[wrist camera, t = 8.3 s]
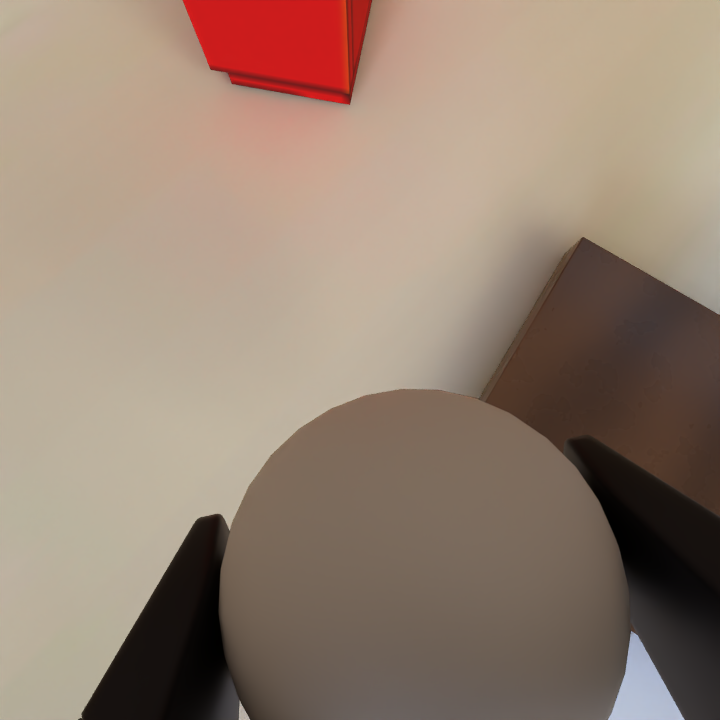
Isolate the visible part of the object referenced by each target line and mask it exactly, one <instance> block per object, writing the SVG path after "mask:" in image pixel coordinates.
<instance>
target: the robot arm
mask: <svg viewBox="0 0 720 720" xmlns="http://www.w3.org/2000/svg"><path fill="white" fill-rule="evenodd" d="M563 455H564V456H565V457H566V458H567V459H568V460H569V461H570V462H571V463H572V464H573V465H574V466H575V467H576V468H577V469H578V471H579V472H580V474H581V475H582V477H583V478H584V480H585V481H586V483H587V484H588V485H589V487H590V488H591V490H592V491H593V493H594V494H595V496H596V497H597V499H598V500H599V502H600V504H601V507H602V509H603V511H604V513H605V516H606V518H607V520H608V522H609V525H610V527H611V529H612V531H613V534H614V536H615V538H616V541H617V544H618V546H619V550H620V554H621V558H622V562H623V566H624V571H625V575H626V579H627V583H628V587H629V602H630V622H631V624H632V625H633V627H634V629H635V631H636V633H637V635H638V636H639V638H640V640H641V642H642V644H643V645H644V647H645V649H646V651H647V653H648V654H649V656H650V658H651V660H652V662H653V663H654V665H655V667H656V669H657V671H658V672H659V674H660V676H661V678H662V680H663V681H664V683H665V685H666V687H667V689H668V691H669V692H670V694H671V696H672V698H673V700H674V701H675V703H676V705H677V707H678V709H679V710H680V712H681V714H682V716H683V718H684V719H685V720H720V516H718V515H717V514H715V513H714V512H712V511H710V510H709V509H707V508H706V507H704V506H702V505H701V504H699V503H698V502H696V501H694V500H693V499H691V498H690V497H688V496H686V495H685V494H683V493H682V492H680V491H678V490H677V489H675V488H674V487H672V486H670V485H669V484H667V483H666V482H664V481H663V480H661V479H659V478H658V477H656V476H655V475H653V474H651V473H650V472H648V471H647V470H645V469H643V468H642V467H640V466H639V465H637V464H635V463H634V462H632V461H631V460H629V459H627V458H626V457H624V456H623V455H621V454H619V453H618V452H616V451H615V450H613V449H612V448H610V447H608V446H607V445H605V444H604V443H602V442H600V441H599V440H597V439H596V438H594V437H592V436H590V435H581V436H577V437H572V438H568V439H567V440H566V441H565V443H564V450H563ZM229 533H230V530H229V528H228V526H227V524H226V522H225V519H224V518H223V516H222V515H220V514H214V515H209V516H205V517H201V518H199V519H197V520H196V521H195V523H194V524H193V526H192V528H191V530H190V531H189V533H188V535H187V536H186V538H185V540H184V541H183V543H182V545H181V546H180V548H179V550H178V552H177V553H176V555H175V557H174V558H173V560H172V562H171V563H170V565H169V567H168V568H167V570H166V572H165V573H164V575H163V577H162V579H161V580H160V582H159V584H158V585H157V587H156V589H155V590H154V592H153V594H152V595H151V597H150V599H149V601H148V602H147V604H146V606H145V607H144V609H143V611H142V612H141V614H140V616H139V617H138V619H137V621H136V622H135V624H134V626H133V628H132V629H131V631H130V633H129V634H128V636H127V638H126V639H125V641H124V643H123V644H122V646H121V648H120V650H119V651H118V653H117V655H116V656H115V658H114V660H113V661H112V663H111V665H110V666H109V668H108V670H107V671H106V673H105V675H104V677H103V678H102V680H101V682H100V683H99V685H98V687H97V688H96V690H95V692H94V693H93V695H92V697H91V699H90V700H89V702H88V704H87V705H86V707H85V709H84V710H83V712H82V718H80V719H78V720H239V701H240V699H239V697H238V695H237V692H236V689H235V686H234V683H233V680H232V677H231V674H230V671H229V668H228V665H227V662H226V659H225V656H224V651H223V643H222V636H221V628H220V620H219V613H218V609H219V591H220V574H221V566H222V562H223V558H224V554H225V550H226V546H227V541H228V537H229Z"/></svg>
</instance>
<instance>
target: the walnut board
mask: <svg viewBox="0 0 720 720" xmlns="http://www.w3.org/2000/svg"><path fill="white" fill-rule="evenodd" d="M479 400H481V401H483V402H485V403H488V404H490V405H492V406H495V407H497V408H499V409H501V410H504V411H506V412H508V413H510V414H512V415H513V416H515V417H516V418H518V419H519V420H521V421H522V422H524V423H525V424H527V425H528V426H530V427H531V428H533V429H534V430H535V431H537V432H538V433H540V434H541V435H543V436H544V437H546V438H547V439H548V440H549V441H550V442H551V443H552V444H553V445H554V446H555V447H556V448H557V449H558V450H559V451H560V452H561V453H562V454H563V450H564V443H565V441H566V440H567V439H568V438H572V437H577V436H581V435H590V436H592V437H594V438H596V439H597V440H599V441H600V442H602V443H604V444H605V445H607V446H608V447H610V448H612V449H613V450H615V451H616V452H618V453H619V454H621V455H623V456H624V457H626V458H627V459H629V460H631V461H632V462H634V463H635V464H637V465H639V466H640V467H642V468H643V469H645V470H647V471H648V472H650V473H651V474H653V475H655V476H656V477H658V478H659V479H661V480H663V481H664V482H666V483H667V484H669V485H670V486H672V487H674V488H675V489H677V490H678V491H680V492H682V493H683V494H685V495H686V496H688V497H690V498H691V499H693V500H694V501H696V502H698V503H699V504H701V505H702V506H704V507H706V508H707V509H709V510H710V511H712V512H714V513H715V514H717V515H718V516H720V315H718V314H717V313H715V312H713V311H711V310H710V309H708V308H706V307H704V306H703V305H701V304H699V303H697V302H696V301H694V300H692V299H690V298H689V297H687V296H685V295H683V294H682V293H680V292H678V291H677V290H675V289H673V288H671V287H670V286H668V285H666V284H664V283H663V282H661V281H659V280H657V279H656V278H654V277H652V276H650V275H649V274H647V273H645V272H643V271H642V270H640V269H638V268H636V267H635V266H633V265H631V264H629V263H628V262H626V261H624V260H622V259H621V258H619V257H617V256H615V255H614V254H612V253H610V252H609V251H607V250H605V249H603V248H602V247H600V246H598V245H596V244H595V243H593V242H591V241H589V240H588V239H586V238H584V237H582V238H581V239H580V240H579V241H578V242H577V243H576V244H575V245H574V246H573V247H572V248H570V249H569V250H568V251H567V252H566V253H565V254H564V256H563V258H562V260H561V261H560V263H559V265H558V266H557V268H556V270H555V271H554V273H553V275H552V276H551V278H550V280H549V281H548V283H547V285H546V287H545V288H544V290H543V292H542V293H541V295H540V297H539V298H538V300H537V302H536V303H535V305H534V307H533V308H532V310H531V312H530V314H529V315H528V317H527V319H526V320H525V322H524V324H523V325H522V327H521V329H520V330H519V332H518V334H517V335H516V337H515V339H514V341H513V342H512V344H511V346H510V347H509V349H508V351H507V352H506V354H505V356H504V357H503V359H502V361H501V363H500V364H499V366H498V368H497V369H496V371H495V373H494V374H493V376H492V378H491V379H490V381H489V383H488V384H487V386H486V388H485V390H484V391H483V393H482V395H481V396H480V398H479ZM631 631H632V632H634V633H635V634H637V633H636V631H635V629H634V627H633V625H632V624H631Z"/></svg>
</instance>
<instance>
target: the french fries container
mask: <svg viewBox="0 0 720 720" xmlns="http://www.w3.org/2000/svg"><path fill="white" fill-rule="evenodd" d="M183 2H184V5H185V7H186V10H187V12H188V15H189V17H190V20H191V22H192V24H193V27H194V29H195V32H196V34H197V37H198V39H199V42H200V44H201V47H202V49H203V52H204V54H205V57H206V59H207V62H208V64H209V66H210V69H211V70H215V71H221V72H227V73H228V74H229V77H230V80H231V82H232V84H236V85H242V86H248V87H253V88H259V89H264V90H270V91H276V92H281V93H287V94H293V95H298V96H304V97H310V98H315V99H321V100H327V101H332V102H338V103H344V104H349V105H350V102H351V97H352V92H353V88H354V83H355V78H356V74H357V69H358V64H359V60H360V55H361V50H362V45H363V41H364V36H365V31H366V27H367V22H368V17H369V13H370V8H371V3H372V0H183Z"/></svg>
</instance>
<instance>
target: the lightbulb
mask: <svg viewBox="0 0 720 720" xmlns="http://www.w3.org/2000/svg"><path fill="white" fill-rule="evenodd" d="M218 613H219V620H220V628H221V636H222V643H223V651H224V656H225V659H226V662H227V665H228V668H229V671H230V674H231V677H232V680H233V683H234V686H235V689H236V692H237V695H238V697H239V699H240V701H241V704H242V706H243V707H244V709H245V711H246V713H247V714H248V716H249V718H250V720H608V718H609V716H610V715H611V713H612V710H613V707H614V704H615V701H616V698H617V695H618V692H619V689H620V686H621V683H622V681H623V678H624V675H625V670H626V663H627V656H628V648H629V641H630V634H631V622H630V602H629V587H628V583H627V579H626V575H625V571H624V566H623V562H622V558H621V554H620V550H619V546H618V544H617V541H616V538H615V536H614V534H613V531H612V529H611V527H610V525H609V522H608V520H607V518H606V516H605V513H604V511H603V509H602V507H601V504H600V502H599V500H598V499H597V497H596V496H595V494H594V493H593V491H592V490H591V488H590V487H589V485H588V484H587V483H586V481H585V480H584V478H583V477H582V475H581V474H580V472H579V471H578V469H577V468H576V467H575V466H574V465H573V464H572V463H571V462H570V461H569V460H568V459H567V458H566V457H565V456H564V455H563V454H562V453H561V452H560V451H559V450H558V449H557V448H556V447H555V446H554V445H553V444H552V443H551V442H550V441H549V440H548V439H547V438H546V437H544V436H543V435H541V434H540V433H538V432H537V431H535V430H534V429H533V428H531V427H530V426H528V425H527V424H525V423H524V422H522V421H521V420H519V419H518V418H516V417H515V416H513V415H512V414H510V413H508V412H506V411H504V410H501V409H499V408H497V407H495V406H492V405H490V404H488V403H485V402H483V401H481V400H478V399H476V398H473V397H468V396H464V395H459V394H455V393H450V392H445V391H441V390H417V389H399V390H394V391H388V392H382V393H377V394H371V395H365V396H363V397H360V398H357V399H355V400H352V401H350V402H347V403H345V404H342V405H339V406H337V407H334V408H332V409H330V410H328V411H326V412H325V413H323V414H322V415H320V416H319V417H317V418H315V419H314V420H312V421H311V422H309V423H308V424H306V425H304V426H303V427H301V428H300V429H298V430H297V431H296V432H295V433H294V434H293V435H292V436H291V437H290V438H289V439H288V440H287V441H286V442H285V443H284V444H282V445H281V446H280V447H279V448H278V449H277V450H276V451H275V452H274V453H273V454H272V455H271V456H270V458H269V459H268V460H267V462H266V463H265V465H264V466H263V467H262V469H261V470H260V472H259V473H258V474H257V476H256V477H255V479H254V480H253V481H252V483H251V484H250V486H249V487H248V489H247V491H246V494H245V496H244V498H243V500H242V502H241V504H240V507H239V509H238V511H237V513H236V515H235V518H234V520H233V522H232V525H231V529H230V533H229V537H228V541H227V546H226V550H225V554H224V558H223V562H222V566H221V574H220V591H219V609H218Z"/></svg>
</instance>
